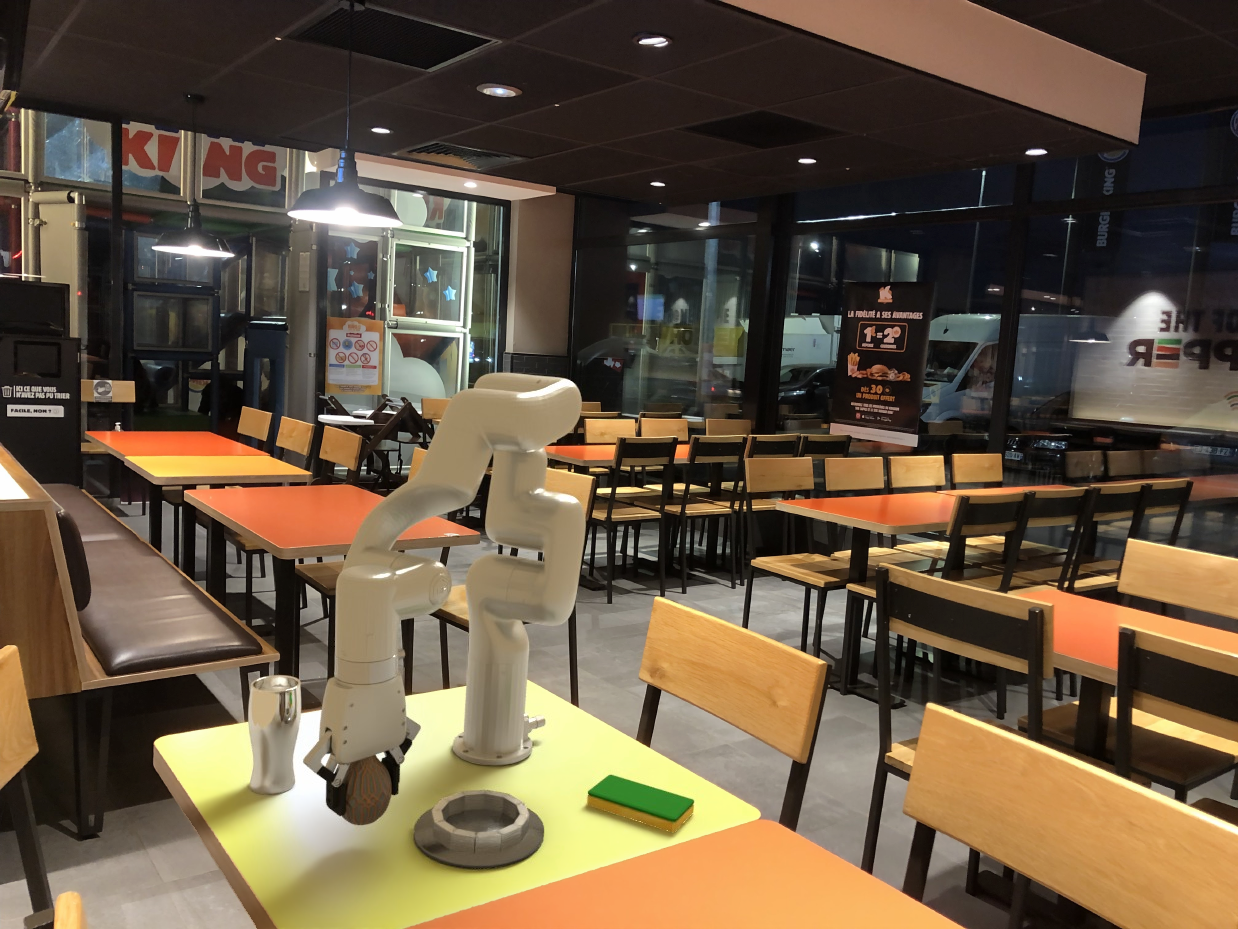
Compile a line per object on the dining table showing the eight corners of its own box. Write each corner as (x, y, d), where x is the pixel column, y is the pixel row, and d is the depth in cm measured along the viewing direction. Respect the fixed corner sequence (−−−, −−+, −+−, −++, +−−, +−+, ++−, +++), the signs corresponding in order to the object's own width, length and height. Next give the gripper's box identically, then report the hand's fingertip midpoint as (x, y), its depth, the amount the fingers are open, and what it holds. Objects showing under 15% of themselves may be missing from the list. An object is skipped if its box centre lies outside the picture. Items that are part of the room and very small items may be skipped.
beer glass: (281, 800, 127) (284, 695, 125) (235, 791, 129) (238, 688, 127) (307, 778, 134) (311, 678, 132) (264, 770, 135) (267, 671, 134)
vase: (361, 838, 112) (362, 770, 111) (322, 819, 116) (323, 754, 115) (402, 814, 118) (404, 750, 117) (364, 798, 122) (365, 735, 121)
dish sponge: (608, 788, 139) (610, 773, 139) (693, 815, 133) (695, 799, 132) (585, 807, 132) (586, 791, 132) (673, 836, 126) (675, 819, 126)
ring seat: (488, 791, 134) (489, 771, 134) (570, 838, 123) (571, 816, 123) (387, 829, 122) (388, 807, 121) (468, 885, 110) (470, 862, 110)
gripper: (408, 643, 123) (404, 769, 126) (285, 673, 110) (284, 813, 113) (442, 659, 118) (437, 790, 121) (317, 693, 105) (315, 838, 108)
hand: (363, 800), depth 117 cm, fingers closed on vase, 6 cm apart
